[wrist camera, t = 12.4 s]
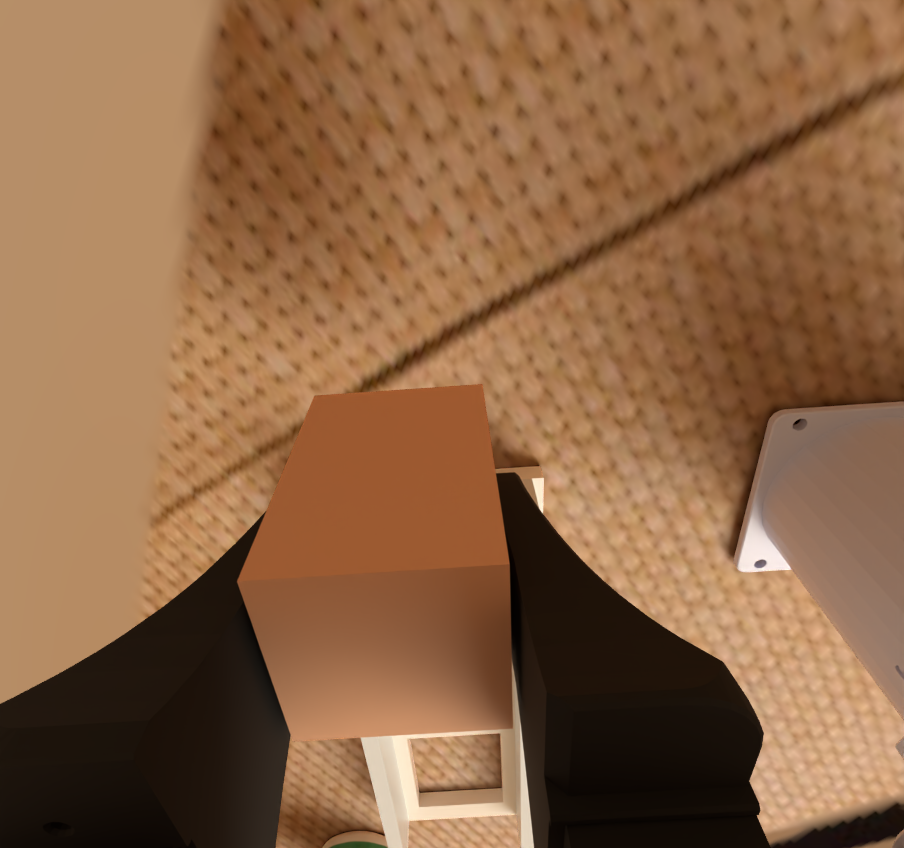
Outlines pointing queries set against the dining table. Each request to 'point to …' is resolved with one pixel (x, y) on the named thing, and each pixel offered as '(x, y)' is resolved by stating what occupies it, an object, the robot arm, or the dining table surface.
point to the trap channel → (394, 753)
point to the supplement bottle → (357, 840)
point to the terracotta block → (386, 570)
